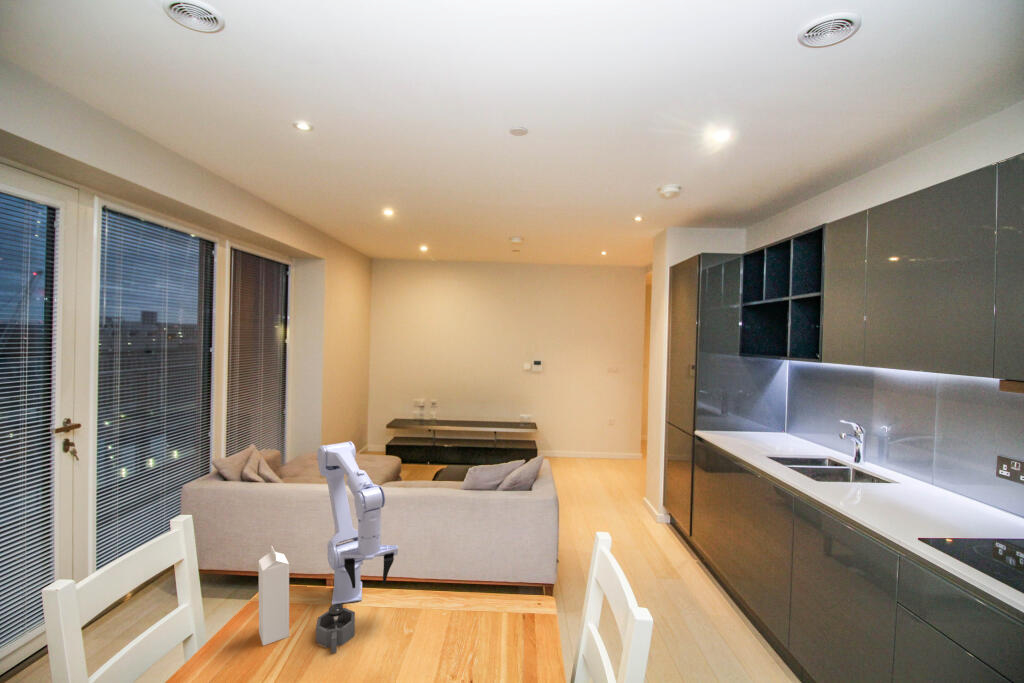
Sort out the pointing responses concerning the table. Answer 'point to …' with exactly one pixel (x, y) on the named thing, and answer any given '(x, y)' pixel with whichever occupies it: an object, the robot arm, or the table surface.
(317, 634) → the grey jug
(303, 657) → the table surface
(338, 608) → the plunger
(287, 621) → the milk
